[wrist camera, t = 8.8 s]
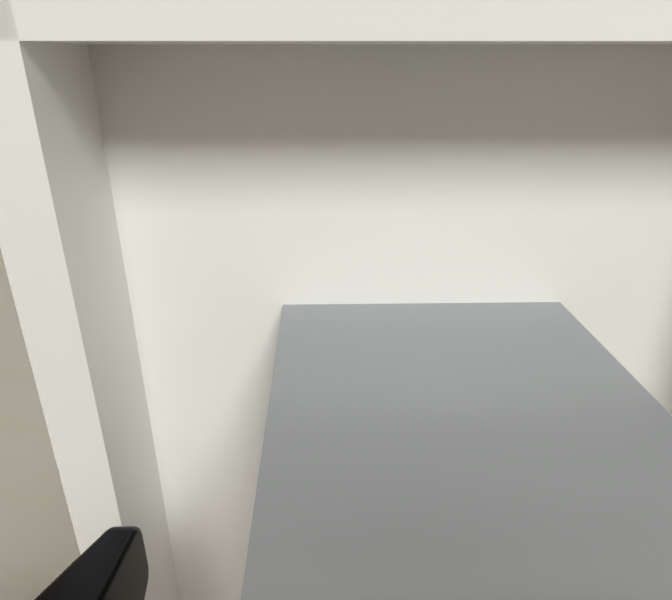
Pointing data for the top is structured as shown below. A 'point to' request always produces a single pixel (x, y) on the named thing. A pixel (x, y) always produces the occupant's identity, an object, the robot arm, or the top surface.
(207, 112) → the tray
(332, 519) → the gray block
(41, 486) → the top surface
